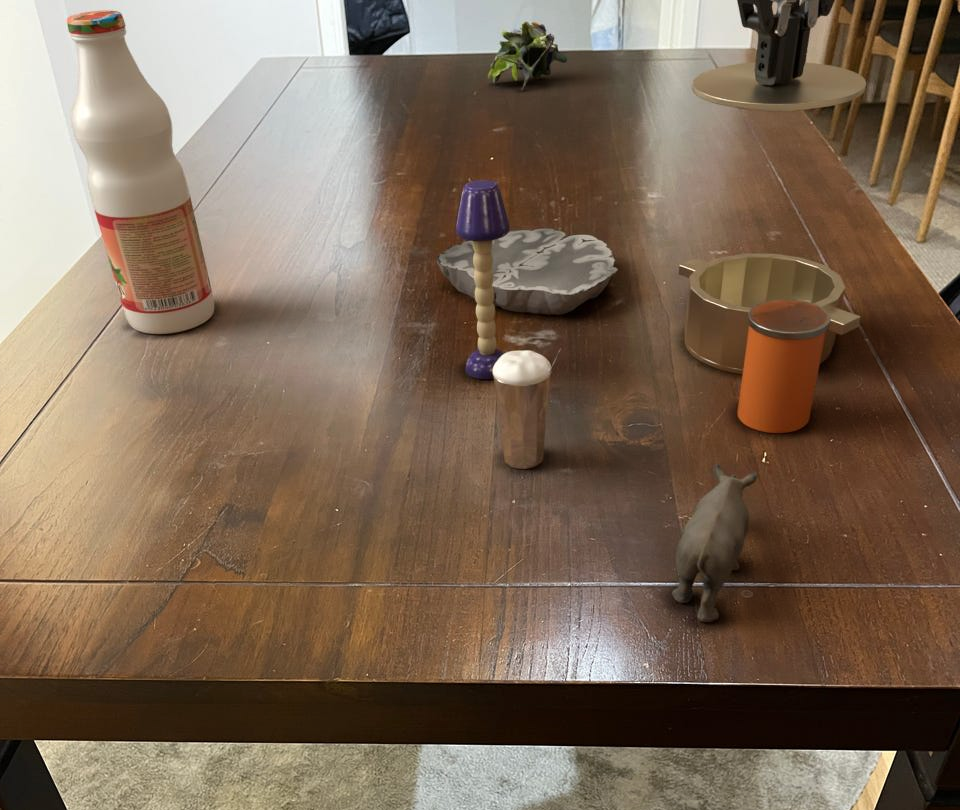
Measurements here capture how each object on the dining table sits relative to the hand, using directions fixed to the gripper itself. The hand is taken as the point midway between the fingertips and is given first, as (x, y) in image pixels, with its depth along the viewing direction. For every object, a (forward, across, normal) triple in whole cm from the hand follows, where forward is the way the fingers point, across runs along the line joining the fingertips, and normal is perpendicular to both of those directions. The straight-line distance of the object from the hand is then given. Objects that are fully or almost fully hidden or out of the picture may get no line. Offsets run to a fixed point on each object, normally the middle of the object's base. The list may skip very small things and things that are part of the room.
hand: (778, 78), depth 88 cm
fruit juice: (+21, -44, +41) cm, 64 cm away
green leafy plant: (+21, +44, +87) cm, 100 cm away
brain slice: (+21, -11, +21) cm, 32 cm away
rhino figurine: (+21, -34, -26) cm, 48 cm away
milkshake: (+21, -35, -7) cm, 41 cm away
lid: (+1, 0, 0) cm, 1 cm away
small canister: (+21, -15, -16) cm, 30 cm away
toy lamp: (+21, -27, +8) cm, 35 cm away
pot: (+21, -5, -5) cm, 22 cm away
